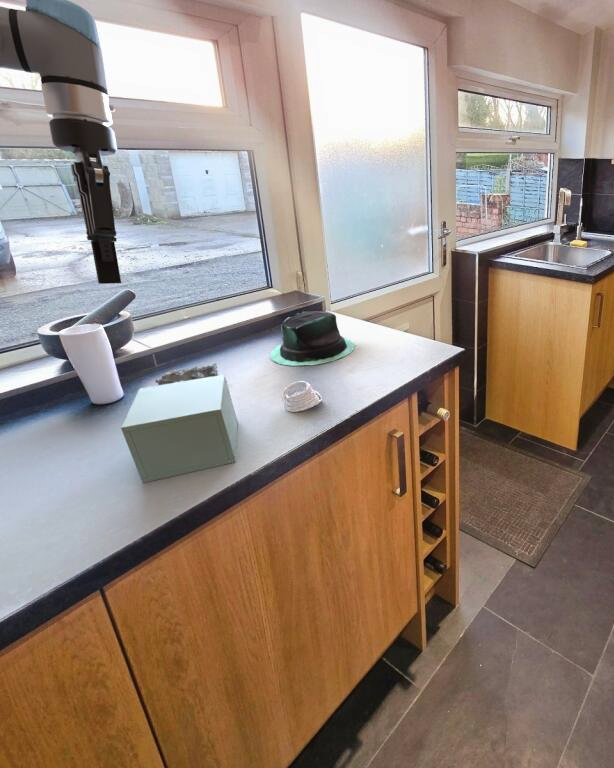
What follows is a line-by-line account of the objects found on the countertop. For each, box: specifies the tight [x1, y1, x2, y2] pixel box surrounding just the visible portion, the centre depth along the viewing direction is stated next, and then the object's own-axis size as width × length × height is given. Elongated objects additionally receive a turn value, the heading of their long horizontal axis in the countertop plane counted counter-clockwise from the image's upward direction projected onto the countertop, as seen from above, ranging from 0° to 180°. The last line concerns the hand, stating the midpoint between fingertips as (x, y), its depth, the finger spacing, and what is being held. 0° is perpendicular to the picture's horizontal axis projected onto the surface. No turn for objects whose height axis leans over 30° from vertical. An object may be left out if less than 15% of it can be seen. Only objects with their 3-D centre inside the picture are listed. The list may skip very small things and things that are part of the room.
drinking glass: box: [58, 323, 125, 405], centre depth 97 cm, size 7×7×15 cm
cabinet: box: [120, 374, 239, 484], centre depth 81 cm, size 15×13×10 cm
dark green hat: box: [269, 310, 356, 367], centre depth 124 cm, size 15×19×20 cm
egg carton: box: [155, 362, 219, 386], centre depth 104 cm, size 11×8×4 cm
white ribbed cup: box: [281, 380, 323, 413], centre depth 96 cm, size 8×7×5 cm
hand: (109, 283), depth 80 cm, fingers closed
